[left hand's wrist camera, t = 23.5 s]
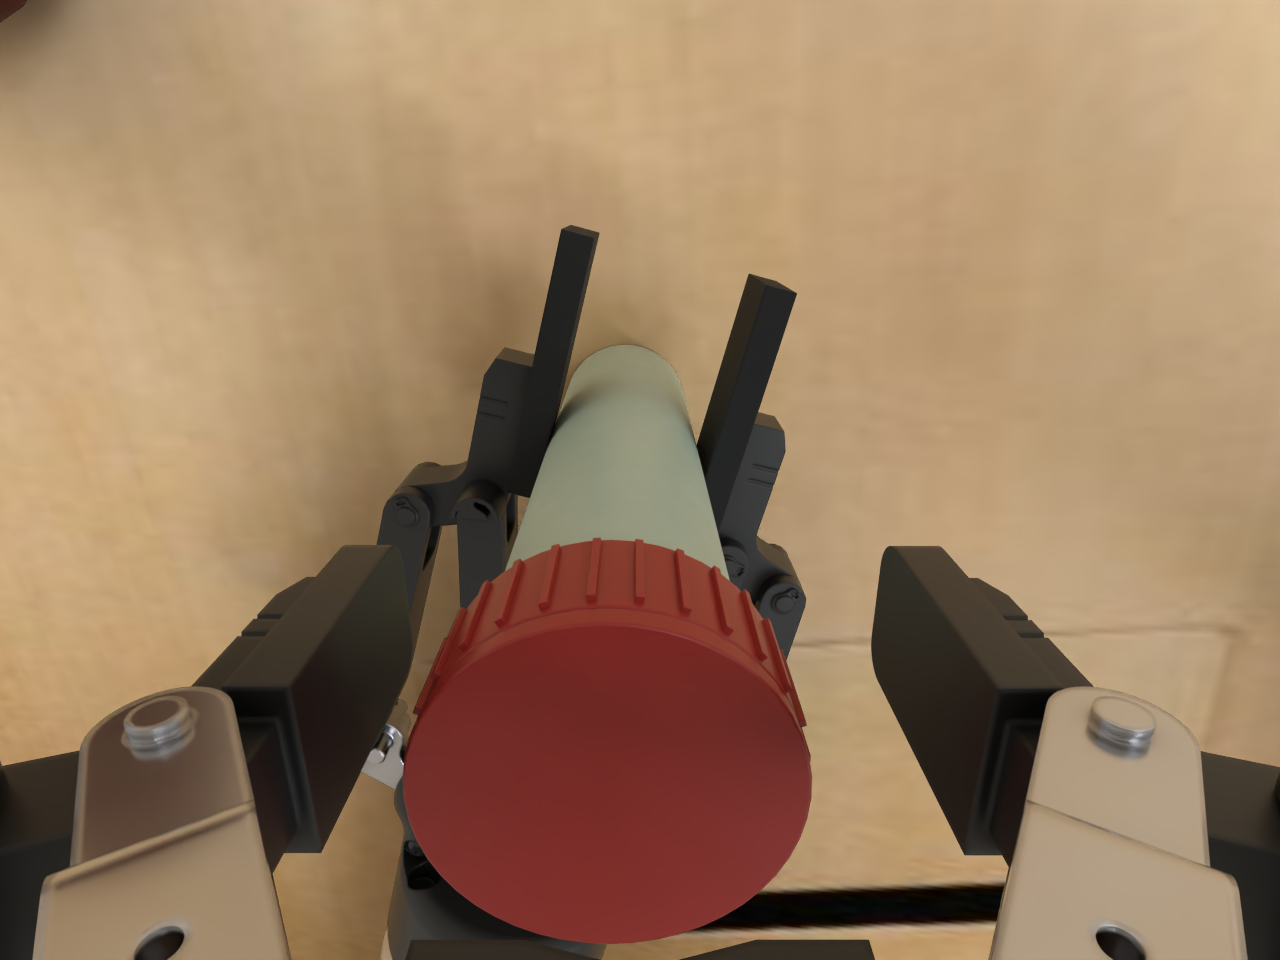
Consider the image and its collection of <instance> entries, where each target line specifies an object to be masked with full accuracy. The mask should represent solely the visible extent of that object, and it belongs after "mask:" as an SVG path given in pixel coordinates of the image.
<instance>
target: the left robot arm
mask: <svg viewBox="0 0 1280 960" xmlns="http://www.w3.org/2000/svg"><path fill="white" fill-rule="evenodd" d="M871 650H872V661H873V667H874V671H875V674H876V677H877V680H878V682H879V684H880V686H881V688H882V690H883V692H884V694H885V696H886V698H887V700H888V702H889V704H890V706H891V708H892V710H893V712H894V714H895V716H896V718H897V720H898V722H899V724H900V726H901V728H902V730H903V732H904V734H905V736H906V738H907V740H908V742H909V744H910V746H911V748H912V750H913V752H914V754H915V756H916V758H917V760H918V762H919V764H920V766H921V768H922V770H923V772H924V774H925V776H926V778H927V781H928V783H929V785H930V787H931V789H932V791H933V793H934V795H935V797H936V799H937V801H938V803H939V805H940V807H941V809H942V811H943V813H944V815H945V817H946V819H947V821H948V823H949V825H950V827H951V829H952V831H953V833H954V835H955V837H956V839H957V841H958V843H959V845H960V847H961V849H962V851H963V853H964V855H1002V856H1003V857H1004V859H1005V861H1006V863H1007V865H1008V866H1009V870H1008V874H1007V878H1006V883H1005V887H1004V891H1003V896H1002V900H1001V905H1000V909H999V914H998V919H997V923H996V928H995V932H994V937H993V941H992V946H991V951H990V955H989V960H1280V767H1276V766H1271V765H1266V764H1261V763H1256V762H1251V761H1246V760H1241V759H1236V758H1231V757H1226V756H1221V755H1216V754H1211V753H1206V752H1202V751H1200V747H1199V744H1198V742H1197V740H1196V738H1195V737H1194V735H1193V734H1192V733H1191V732H1190V731H1189V729H1188V728H1187V727H1186V726H1184V725H1183V724H1182V723H1181V722H1180V721H1179V720H1177V719H1176V718H1175V717H1173V716H1172V715H1171V714H1169V713H1167V712H1166V711H1164V710H1162V709H1161V708H1159V707H1157V706H1155V705H1153V704H1151V703H1149V702H1147V701H1144V700H1142V699H1139V698H1137V697H1134V696H1131V695H1128V694H1125V693H1122V692H1118V691H1114V690H1110V689H1104V688H1098V687H1093V685H1092V684H1091V683H1090V682H1089V681H1088V680H1087V679H1086V678H1085V677H1084V676H1083V675H1082V674H1081V673H1080V672H1079V671H1078V669H1077V668H1076V667H1075V666H1074V665H1073V664H1072V663H1071V662H1070V661H1069V660H1068V659H1067V658H1066V657H1065V656H1064V655H1063V653H1062V652H1061V651H1060V650H1059V649H1058V648H1057V647H1056V646H1055V645H1054V644H1053V643H1052V642H1051V641H1050V640H1049V638H1044V633H1043V632H1042V631H1041V630H1040V629H1039V628H1038V627H1037V626H1036V625H1035V624H1034V622H1033V621H1032V620H1028V616H1027V615H1026V614H1025V613H1024V612H1023V611H1022V610H1021V609H1020V608H1019V606H1018V605H1017V604H1016V603H1015V602H1014V601H1013V600H1012V599H1011V598H1010V597H1009V596H1008V595H1006V594H1005V593H1003V592H1001V591H999V590H998V589H996V588H994V587H992V586H991V585H989V584H987V583H985V582H984V581H982V580H980V579H978V578H968V577H967V575H966V574H965V573H964V572H963V571H962V570H961V569H960V567H959V566H958V565H957V564H956V563H955V562H954V561H953V559H952V558H951V557H950V556H949V555H948V554H947V553H946V551H945V550H944V549H943V548H942V547H940V546H889V547H887V548H886V549H885V551H884V554H883V556H882V561H881V567H880V575H879V583H878V591H877V599H876V607H875V615H874V623H873V631H872V641H871ZM411 659H412V631H411V623H410V614H409V606H408V598H407V590H406V582H405V574H404V566H403V559H402V555H401V552H400V550H399V548H398V547H397V546H395V545H345V546H343V547H342V548H341V549H340V550H339V551H338V552H337V553H336V554H335V556H334V557H333V558H332V559H331V560H330V561H329V563H328V564H327V565H326V566H325V567H324V568H323V569H322V571H321V572H320V573H319V574H318V575H317V576H316V577H306V578H304V579H302V580H301V581H299V582H297V583H296V584H294V585H292V586H290V587H289V588H287V589H285V590H283V591H282V592H280V593H278V594H276V596H275V597H274V598H273V599H272V600H271V601H270V602H269V603H268V604H267V605H266V606H265V607H264V608H263V610H262V611H261V612H260V613H259V614H258V618H257V619H253V620H252V621H251V622H250V624H249V625H248V626H247V627H246V628H245V629H244V630H243V631H242V636H237V638H236V639H235V640H234V641H233V642H232V643H231V644H230V645H229V646H228V647H227V648H226V649H225V651H224V652H223V653H222V654H221V655H220V656H219V657H218V658H217V659H216V660H215V661H214V662H213V663H212V665H211V666H210V667H209V668H208V669H207V670H206V671H205V672H204V673H203V674H202V675H201V676H200V677H199V679H198V680H197V681H196V682H195V683H194V684H193V685H192V686H191V687H182V688H176V689H170V690H166V691H162V692H158V693H155V694H152V695H149V696H146V697H143V698H141V699H138V700H136V701H133V702H131V703H129V704H127V705H125V706H123V707H121V708H119V709H118V710H116V711H114V712H113V713H111V714H109V715H108V716H107V717H105V718H104V719H103V720H101V721H100V722H99V723H98V724H97V725H96V726H94V727H93V728H92V729H91V731H90V732H89V733H88V734H87V735H86V737H85V738H84V740H83V742H82V744H81V747H80V751H75V752H70V753H65V754H60V755H55V756H50V757H45V758H40V759H35V760H30V761H25V762H20V763H15V764H10V765H5V766H2V764H1V762H0V960H291V955H290V951H289V946H288V941H287V937H286V932H285V928H284V923H283V919H282V914H281V909H280V905H279V900H278V896H277V891H276V887H275V883H274V878H273V872H274V870H275V868H276V866H277V864H278V863H279V861H280V859H281V857H282V855H283V854H284V853H321V852H322V850H323V848H324V846H325V844H326V842H327V840H328V838H329V836H330V834H331V832H332V830H333V827H334V825H335V823H336V821H337V819H338V817H339V815H340V813H341V811H342V809H343V807H344V805H345V803H346V801H347V799H348V797H349V795H350V793H351V791H352V789H353V787H354V785H355V783H356V781H357V779H358V776H359V774H360V772H361V770H362V768H363V766H364V764H365V762H366V760H367V758H368V756H369V754H370V752H371V750H372V748H373V746H374V744H375V742H376V740H377V738H378V736H379V734H380V732H381V730H382V728H383V726H384V723H385V721H386V719H387V717H388V715H389V713H390V711H391V709H392V707H393V705H394V703H395V701H396V699H397V697H398V695H399V693H400V691H401V689H402V687H403V685H404V683H405V681H406V678H407V676H408V673H409V669H410V665H411ZM405 960H600V959H596V958H592V957H588V956H584V955H580V954H576V953H573V952H569V951H565V950H561V949H557V948H553V947H549V946H546V945H542V944H538V943H534V942H530V941H526V940H411V942H410V945H409V948H408V952H407V955H406V958H405ZM680 960H875V958H874V955H873V952H872V948H871V945H870V942H869V940H754V941H750V942H746V943H742V944H738V945H734V946H731V947H727V948H723V949H719V950H715V951H711V952H707V953H704V954H700V955H696V956H692V957H688V958H684V959H680Z"/></svg>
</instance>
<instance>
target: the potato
mask: <svg viewBox="0 0 1280 960" xmlns="http://www.w3.org/2000/svg"><path fill="white" fill-rule="evenodd" d="M26 1H27V0H0V22H2V21H3V20H4V19H6V18H7V17H9V16H10V15H12V14H13V13H14V12H16V11H17V10H19V9H20V8H21V7H23V6H24V4H25V3H26Z"/></svg>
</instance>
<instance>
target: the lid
mask: <svg viewBox="0 0 1280 960" xmlns="http://www.w3.org/2000/svg"><path fill="white" fill-rule="evenodd" d="M413 713H414V714H417V715H418V718H417V720H416V722H415V725H414V727H413V730H412V732H411V735H410V737H409V739H408V742H407V750H406V753H405V759H404V767H403V776H402V777H403V796H404V802H405V807H406V811H407V816H408V820H409V823H410V825H411V828H412V830H413V833H414V835H415V838H416V840H417V842H418V844H419V845H420V847H421V849H422V850H423V852H424V854H425V856H426V857H427V859H428V860H429V861H430V863H431V864H432V865H433V866H434V868H435V869H436V870H437V871H438V873H439V874H440V875H441V876H442V877H443V878H444V879H445V880H446V881H447V882H448V883H449V884H450V885H451V886H452V887H453V888H454V889H455V890H456V891H457V892H459V893H460V894H461V895H463V896H464V897H465V898H466V899H468V900H469V901H470V902H472V903H473V904H474V905H476V906H478V907H479V908H481V909H483V910H484V911H486V912H488V913H489V914H491V915H493V916H494V917H497V918H499V919H501V920H503V921H505V922H507V923H510V924H512V925H514V926H516V927H519V928H522V929H525V930H528V931H531V932H534V933H537V934H540V935H545V936H549V937H553V938H557V939H562V940H569V941H576V942H583V943H602V944H617V943H635V942H642V941H649V940H656V939H661V938H665V937H669V936H673V935H677V934H681V933H684V932H687V931H690V930H693V929H695V928H698V927H701V926H704V925H706V924H708V923H710V922H712V921H714V920H716V919H719V918H721V917H723V916H725V915H726V914H728V913H730V912H731V911H733V910H735V909H736V908H738V907H739V906H741V905H743V904H744V903H745V902H747V901H748V900H749V899H750V898H752V897H753V896H754V895H756V894H757V893H758V892H759V891H761V890H762V889H763V888H764V887H765V886H766V885H767V884H768V883H769V882H770V881H771V880H772V879H773V878H774V877H775V876H776V875H777V873H778V872H779V871H780V869H781V868H782V867H783V865H784V864H785V863H786V861H787V860H788V859H789V857H790V856H791V854H792V852H793V850H794V848H795V847H796V845H797V843H798V841H799V839H800V837H801V834H802V831H803V829H804V826H805V823H806V820H807V816H808V811H809V806H810V801H811V789H812V774H811V766H810V752H809V749H808V746H807V743H806V740H805V736H804V733H803V730H802V727H804V726H807V724H806V721H805V717H804V714H803V711H802V708H801V705H800V702H799V699H798V696H797V693H796V690H795V687H794V683H793V680H792V677H791V674H790V671H789V668H788V665H787V662H786V659H785V656H784V653H783V650H782V649H779V646H778V643H777V640H776V636H775V633H774V630H773V627H772V624H771V622H770V620H769V618H766V619H763V618H762V617H761V615H760V614H759V612H758V611H757V609H756V608H755V606H754V605H753V604H752V600H751V597H750V594H749V592H748V591H747V590H746V589H744V590H743V591H741V590H740V589H739V588H738V587H737V586H735V585H734V584H733V583H732V582H730V581H729V580H728V579H727V578H725V577H724V576H723V575H722V574H721V571H720V569H719V568H718V567H716V566H713V567H712V568H711V567H709V566H707V565H706V564H704V563H703V562H701V561H698V560H696V559H694V558H692V557H690V556H687V555H685V554H684V550H681V549H678V548H677V549H676V551H674V550H671V549H668V548H665V547H662V546H658V545H653V544H648V543H644V541H643V540H641V539H635V541H624V540H601V538H593V541H585V542H580V543H574V544H568V545H564V546H560V545H559V544H556V545H552V546H551V550H547V551H544V552H541V553H539V554H537V555H535V556H532V557H530V558H528V559H526V560H523V561H522V560H521V559H518V560H516V561H514V563H513V566H512V567H511V568H510V569H508V570H506V571H505V572H503V573H502V574H500V575H499V576H498V577H497V578H496V579H494V580H493V581H492V582H491V583H490V582H489V581H488V580H486V581H485V582H484V583H483V584H482V586H481V588H480V591H479V593H478V595H477V597H476V598H475V599H474V600H473V601H472V602H471V603H470V605H469V606H468V608H467V609H465V608H463V607H461V608H460V610H459V611H458V613H457V615H456V618H455V620H454V623H453V625H452V627H451V630H450V632H449V634H448V637H447V638H444V640H443V643H442V645H441V647H440V650H439V652H438V654H437V657H436V659H435V661H434V664H433V666H432V668H431V671H430V673H429V675H428V678H427V680H426V682H425V685H424V687H423V690H422V692H421V694H420V697H419V699H418V701H417V704H416V706H415V708H414V711H413Z"/></svg>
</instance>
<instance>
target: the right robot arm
mask: <svg viewBox="0 0 1280 960" xmlns="http://www.w3.org/2000/svg"><path fill="white" fill-rule="evenodd" d="M598 237H599V233H598V232H595V231H591V230H587V229H584V228H580V227H576V226H573V225H570V226H568V227H565V228H563V229H561V233H560V238H559V243H558V247H557V252H556V257H555V262H554V266H553V271H552V276H551V280H550V285H549V290H548V294H547V299H546V304H545V309H544V313H543V318H542V323H541V327H540V332H539V337H538V341H537V346H536V351H535V355H533V354H529V353H525V352H521V351H517V350H513V349H509V348H504V349H503V350H502V352H501V353H500V354H499V355H498V356H497V357H496V359H495V360H494V362H493V363H492V365H491V366H490V368H489V369H488V370H487V372H486V373H485V375H484V379H483V384H482V389H481V394H480V400H479V405H478V410H477V415H476V421H475V426H474V431H473V436H472V442H471V447H470V452H469V457H468V461H466V462H464V463H461V464H457V465H448V466H441V465H439V464H436V463H433V462H425V463H421V464H419V465H417V466H416V467H415V468H414V469H413V470H412V471H411V472H410V474H409V475H408V476H407V477H406V478H405V480H404V481H403V482H402V483H401V485H400V486H399V487H398V488H397V490H396V491H395V492H394V493H393V494H392V496H391V497H390V498H389V499H388V501H387V502H386V505H385V507H384V510H383V515H382V520H381V525H380V531H379V536H378V541H377V545H395V546H397V547H398V548H399V550H400V552H401V555H402V559H403V566H404V574H405V582H406V590H407V598H408V606H409V614H410V623H411V631H412V659H411V665H412V660H413V656H414V651H415V647H416V642H417V638H418V633H419V629H420V625H421V620H422V616H423V611H424V607H425V602H426V598H427V593H428V589H429V584H430V580H431V575H432V571H433V566H434V562H435V557H436V553H437V549H438V544H439V540H440V535H441V531H442V526H444V525H455V524H457V531H458V555H459V580H460V604H461V607H463V608H465V609H467V608H468V606H469V605H470V603H471V602H472V601H473V600H474V599H475V598H476V597H477V595H478V593H479V591H480V588H481V586H482V584H483V583H484V582H485V581H486V580H488V581H489V582H490V583H491V582H492V581H493V580H494V579H496V578H497V577H498V576H499V575H500V574H502V573H503V572H505V570H506V567H507V564H508V561H509V558H510V555H511V552H512V549H513V546H514V543H515V540H516V538H517V535H518V509H517V495H520V496H524V497H528V498H530V497H531V494H532V491H533V488H534V485H535V482H536V479H537V476H538V474H539V471H540V468H541V465H542V462H543V459H544V456H545V453H546V450H547V447H548V445H549V442H550V439H551V436H552V433H553V430H554V427H555V424H556V419H557V415H558V411H559V406H560V402H561V398H562V393H563V389H564V385H565V380H566V376H567V371H568V367H569V363H570V358H571V354H572V350H573V345H574V341H575V337H576V332H577V328H578V324H579V319H580V315H581V311H582V306H583V302H584V298H585V293H586V289H587V285H588V280H589V276H590V271H591V267H592V263H593V258H594V254H595V250H596V245H597V241H598ZM796 295H797V293H795V292H794V291H792V290H790V289H789V288H787V287H785V286H783V285H782V284H780V283H778V282H777V281H774V280H770V279H766V278H763V277H759V276H755V275H752V274H749V275H748V278H747V281H746V285H745V288H744V291H743V294H742V298H741V301H740V304H739V308H738V311H737V314H736V318H735V321H734V324H733V327H732V331H731V334H730V337H729V341H728V344H727V347H726V350H725V354H724V357H723V360H722V364H721V367H720V370H719V373H718V377H717V380H716V383H715V387H714V390H713V393H712V396H711V400H710V403H709V406H708V410H707V413H706V416H705V420H704V423H703V426H702V429H701V433H700V436H699V439H698V443H697V450H698V454H699V458H700V462H701V466H702V470H703V475H704V479H705V483H706V487H707V491H708V495H709V499H710V503H711V507H712V511H713V515H714V519H715V523H716V527H717V531H718V535H719V539H720V543H721V548H722V552H723V556H724V560H725V564H726V568H727V572H728V576H729V580H730V582H732V583H733V584H734V585H735V586H737V587H738V588H739V589H740V590H741V591H743V590H744V589H746V590H747V591H748V592H749V594H750V597H751V600H752V604H753V605H754V606H755V608H756V609H757V611H758V612H759V614H760V615H761V617H762V618H763V619H766V618H769V620H770V622H771V624H772V627H773V630H774V633H775V636H776V640H777V643H778V646H779V649H782V650H783V653H784V656H785V659H786V660H787V657H788V654H789V651H790V648H791V645H792V643H793V640H794V637H795V634H796V631H797V628H798V625H799V622H800V620H801V617H802V614H803V611H804V608H805V603H806V597H805V595H804V592H803V589H802V587H801V584H800V582H799V580H798V577H797V575H796V573H795V570H794V568H793V566H792V563H791V561H790V559H789V557H788V555H787V552H786V551H785V550H784V549H783V548H782V547H781V546H778V545H776V544H768V543H766V542H765V541H763V540H762V539H760V538H759V537H758V536H757V532H758V529H759V526H760V523H761V520H762V517H763V514H764V512H765V509H766V506H767V503H768V500H769V497H770V494H771V491H772V489H773V485H774V483H775V480H776V477H777V474H778V470H779V469H780V466H781V463H782V460H783V457H784V454H785V436H784V430H783V429H782V427H781V426H780V424H779V423H778V421H777V420H776V418H775V416H771V415H767V414H763V413H759V412H758V410H759V407H760V404H761V401H762V398H763V395H764V392H765V389H766V386H767V383H768V380H769V377H770V374H771V371H772V368H773V365H774V362H775V359H776V356H777V353H778V350H779V347H780V344H781V340H782V337H783V334H784V331H785V328H786V325H787V322H788V319H789V316H790V313H791V310H792V307H793V304H794V301H795V298H796ZM411 665H410V668H411ZM409 672H410V669H409ZM408 675H409V673H408ZM407 678H408V676H407ZM407 678H406V680H407ZM405 683H406V681H405ZM405 683H404V685H405ZM404 685H403V687H404ZM403 687H402V689H403ZM402 689H401V691H402ZM401 691H400V693H401ZM400 693H399V695H398V697H397V699H396V701H395V703H394V705H393V707H392V709H391V711H390V713H389V715H388V717H387V719H386V721H385V723H384V726H383V728H382V730H381V732H380V734H379V736H378V738H377V740H376V742H375V744H374V746H373V748H372V750H371V752H370V754H369V756H368V758H367V760H366V762H365V764H364V766H363V768H362V770H361V772H363V773H364V774H366V775H368V776H370V777H372V778H374V779H376V780H378V781H380V782H381V783H383V784H385V785H387V786H389V787H391V788H393V789H395V793H394V804H395V808H396V811H397V813H398V815H399V817H400V819H401V821H402V824H403V828H404V837H403V842H402V847H401V852H400V858H399V863H398V868H397V873H396V878H395V883H394V888H393V893H392V898H391V904H390V909H389V915H388V923H387V928H386V931H385V934H384V938H383V943H382V949H381V955H380V960H405V958H406V955H407V952H408V948H409V945H410V942H411V940H526V941H530V942H534V943H538V944H542V945H546V946H549V947H553V948H557V949H561V950H565V951H569V952H573V953H576V954H580V955H584V956H588V957H592V958H596V959H600V960H601V959H602V956H603V953H604V951H605V948H606V945H607V944H602V943H583V942H576V941H569V940H562V939H557V938H553V937H549V936H545V935H540V934H537V933H534V932H531V931H528V930H525V929H522V928H519V927H516V926H514V925H512V924H510V923H507V922H505V921H503V920H501V919H499V918H497V917H494V916H493V915H491V914H489V913H488V912H486V911H484V910H483V909H481V908H479V907H478V906H476V905H474V904H473V903H472V902H470V901H469V900H468V899H466V898H465V897H464V896H463V895H461V894H460V893H459V892H457V891H456V890H455V889H454V888H453V887H452V886H451V885H450V884H449V883H448V882H447V881H446V880H445V879H444V878H443V877H442V876H441V875H440V874H439V873H438V871H437V870H436V869H435V868H434V866H433V865H432V864H431V863H430V861H429V860H428V859H427V857H426V856H425V854H424V852H423V850H422V849H421V847H420V845H419V844H418V842H417V840H416V838H415V835H414V833H413V830H412V828H411V825H410V823H409V820H408V816H407V811H406V807H405V802H404V796H403V777H402V776H403V767H404V759H405V753H406V750H407V742H408V739H409V738H408V731H409V728H410V725H411V719H410V717H409V715H408V713H407V712H406V711H407V704H406V702H405V701H403V700H401V699H398V698H399V696H400Z"/></svg>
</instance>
